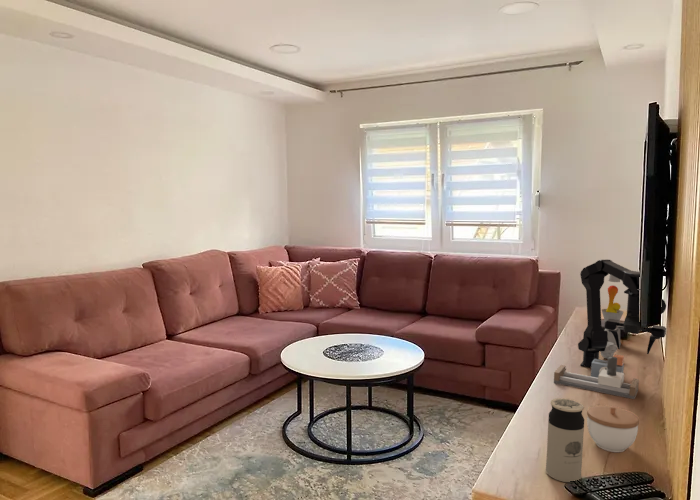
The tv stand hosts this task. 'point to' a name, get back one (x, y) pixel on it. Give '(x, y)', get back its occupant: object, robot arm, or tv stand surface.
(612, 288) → the lava lamp
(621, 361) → the block
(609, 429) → the lidded bowl
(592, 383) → the rail board
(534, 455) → the tv stand surface
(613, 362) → the carriage
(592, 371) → the box
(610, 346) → the grey faceted rock
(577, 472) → the travel mug
